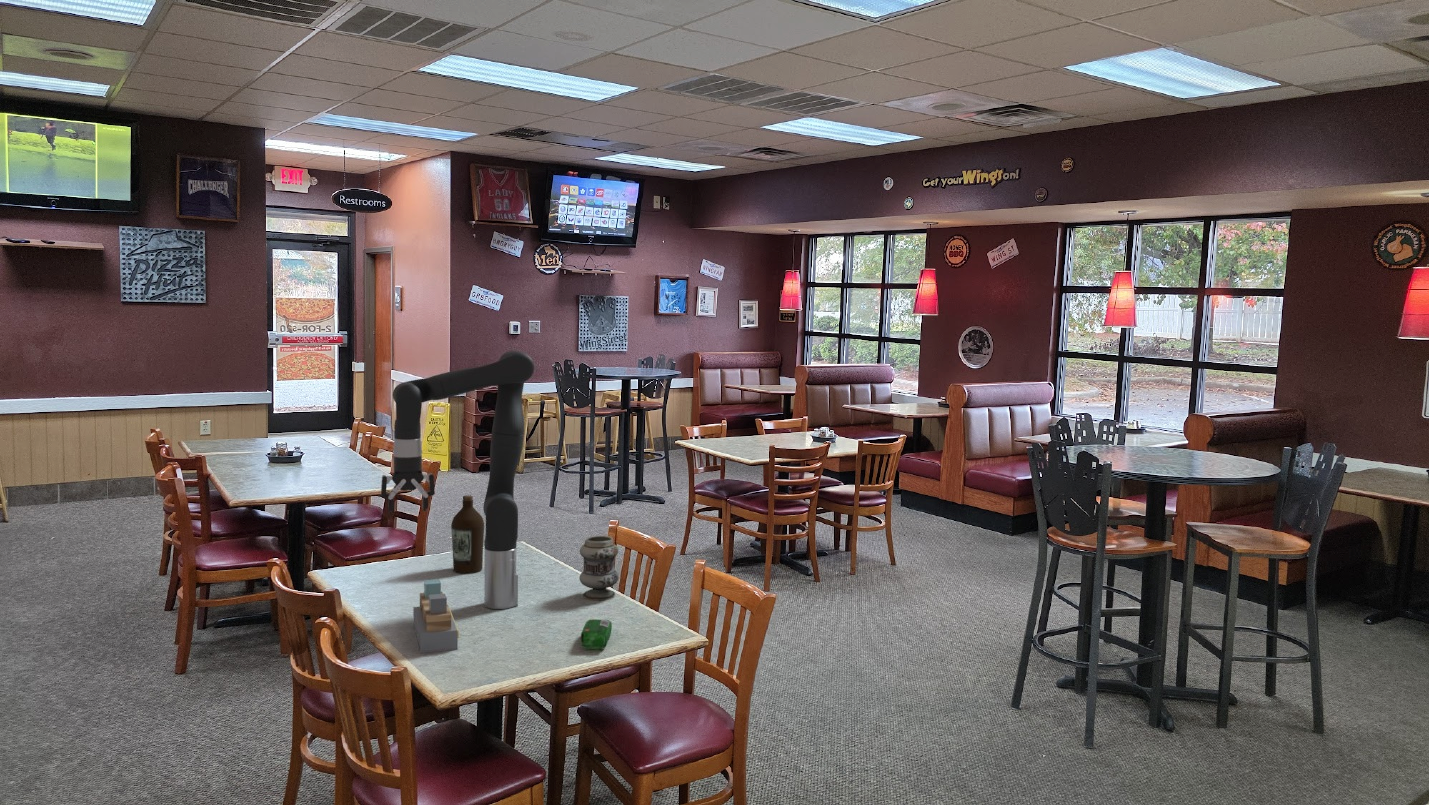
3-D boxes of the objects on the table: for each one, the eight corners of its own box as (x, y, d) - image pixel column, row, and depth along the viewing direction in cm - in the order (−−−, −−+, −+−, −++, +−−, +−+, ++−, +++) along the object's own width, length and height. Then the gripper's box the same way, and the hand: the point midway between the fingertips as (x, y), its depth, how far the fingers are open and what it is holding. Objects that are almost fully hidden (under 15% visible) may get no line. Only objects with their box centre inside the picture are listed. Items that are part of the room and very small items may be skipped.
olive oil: (462, 564, 326) (462, 492, 323) (490, 567, 323) (490, 494, 320) (445, 572, 315) (444, 497, 313) (473, 575, 313) (473, 500, 310)
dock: (448, 621, 267) (448, 604, 266) (458, 649, 246) (458, 630, 245) (413, 624, 263) (413, 607, 263) (421, 653, 242) (421, 634, 242)
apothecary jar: (593, 587, 302) (594, 531, 300) (626, 593, 297) (626, 536, 295) (571, 597, 291) (571, 539, 290) (604, 604, 286) (604, 545, 284)
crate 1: (439, 593, 263) (439, 579, 262) (440, 597, 259) (440, 583, 259) (424, 594, 261) (424, 580, 261) (425, 598, 258) (425, 584, 257)
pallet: (419, 607, 263) (419, 593, 262) (442, 605, 265) (442, 591, 265) (427, 632, 243) (426, 616, 243) (451, 629, 246) (451, 614, 245)
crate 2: (444, 608, 250) (444, 593, 250) (446, 613, 246) (446, 598, 246) (429, 610, 248) (428, 595, 248) (430, 614, 245) (430, 599, 244)
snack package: (613, 633, 261) (613, 614, 260) (606, 653, 245) (606, 633, 245) (587, 633, 261) (587, 614, 261) (578, 653, 245) (578, 633, 245)
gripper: (432, 451, 273) (433, 507, 274) (380, 453, 267) (380, 510, 269) (435, 455, 266) (435, 512, 267) (381, 457, 260) (382, 515, 262)
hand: (408, 511), depth 268 cm, fingers open, 8 cm apart
